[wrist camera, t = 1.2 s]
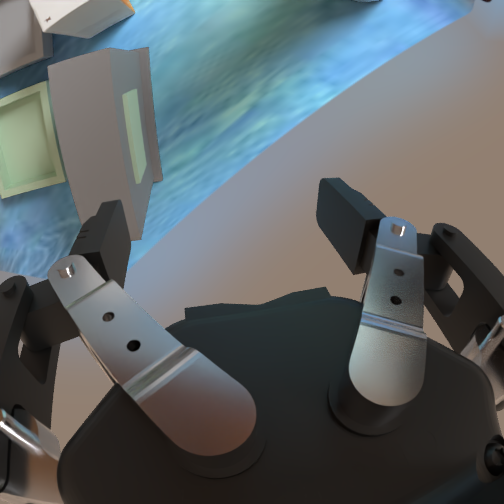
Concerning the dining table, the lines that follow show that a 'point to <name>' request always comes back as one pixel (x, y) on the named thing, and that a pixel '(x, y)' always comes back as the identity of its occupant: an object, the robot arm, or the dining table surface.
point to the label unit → (107, 131)
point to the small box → (80, 15)
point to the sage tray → (29, 142)
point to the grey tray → (21, 37)
